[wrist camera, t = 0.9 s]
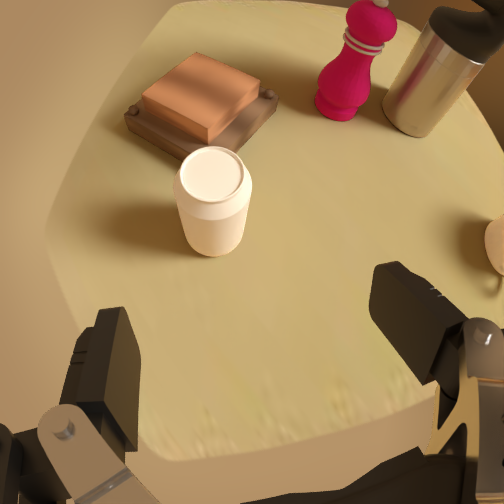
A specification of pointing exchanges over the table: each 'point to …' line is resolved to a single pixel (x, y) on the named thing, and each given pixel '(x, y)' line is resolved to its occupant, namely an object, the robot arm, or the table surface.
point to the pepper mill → (355, 59)
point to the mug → (495, 243)
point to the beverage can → (213, 199)
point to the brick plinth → (191, 144)
